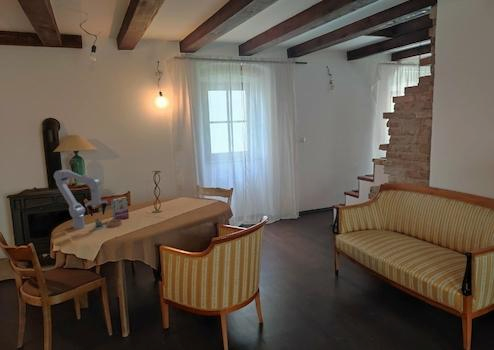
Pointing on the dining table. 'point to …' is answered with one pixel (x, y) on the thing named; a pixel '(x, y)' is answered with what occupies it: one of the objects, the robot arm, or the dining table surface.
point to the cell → (98, 223)
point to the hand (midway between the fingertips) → (97, 215)
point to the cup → (114, 223)
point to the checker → (98, 228)
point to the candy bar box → (119, 208)
